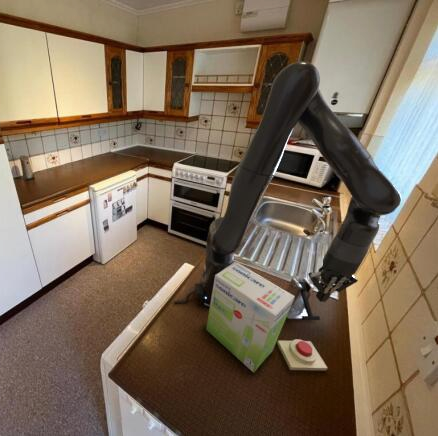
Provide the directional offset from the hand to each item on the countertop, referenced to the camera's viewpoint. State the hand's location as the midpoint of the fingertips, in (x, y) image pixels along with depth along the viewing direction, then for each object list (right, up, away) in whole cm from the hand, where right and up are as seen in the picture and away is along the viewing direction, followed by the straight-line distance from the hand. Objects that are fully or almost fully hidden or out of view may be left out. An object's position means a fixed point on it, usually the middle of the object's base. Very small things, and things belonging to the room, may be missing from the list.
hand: (320, 299), depth 71 cm
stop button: (-7, -14, -3) cm, 16 cm away
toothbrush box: (-24, -14, +3) cm, 28 cm away
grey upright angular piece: (0, -8, +15) cm, 17 cm away
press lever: (0, -3, +8) cm, 9 cm away
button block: (-7, -17, -1) cm, 18 cm away
